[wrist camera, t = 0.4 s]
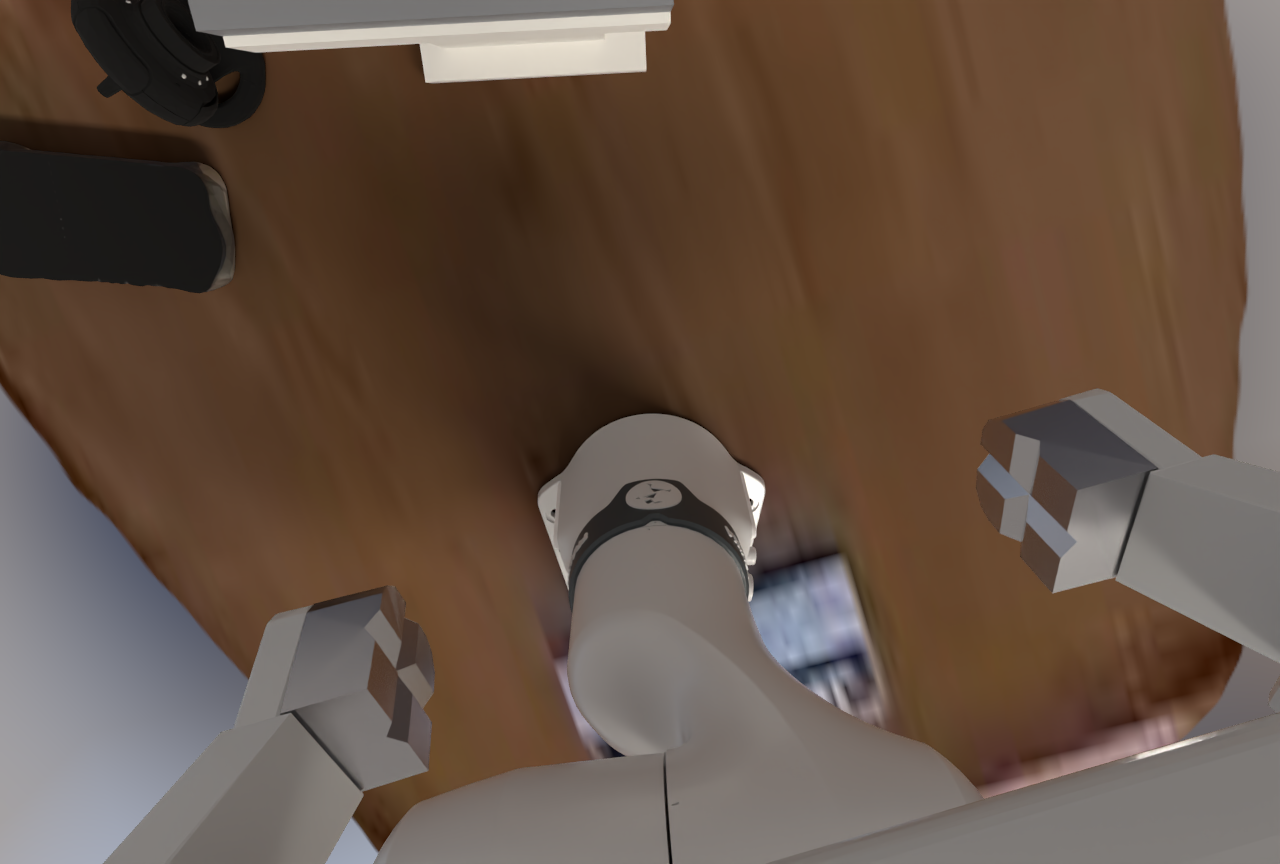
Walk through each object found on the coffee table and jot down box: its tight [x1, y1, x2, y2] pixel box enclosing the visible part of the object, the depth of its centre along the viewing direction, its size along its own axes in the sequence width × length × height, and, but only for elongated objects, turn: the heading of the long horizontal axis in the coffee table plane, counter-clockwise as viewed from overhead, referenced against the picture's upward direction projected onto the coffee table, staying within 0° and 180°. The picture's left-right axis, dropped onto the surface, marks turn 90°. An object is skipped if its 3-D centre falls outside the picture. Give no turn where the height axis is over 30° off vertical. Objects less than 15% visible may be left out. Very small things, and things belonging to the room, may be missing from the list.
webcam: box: [71, 0, 266, 128], centre depth 40 cm, size 8×8×10 cm
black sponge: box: [0, 141, 235, 293], centre depth 47 cm, size 16×8×4 cm, turn 85°
